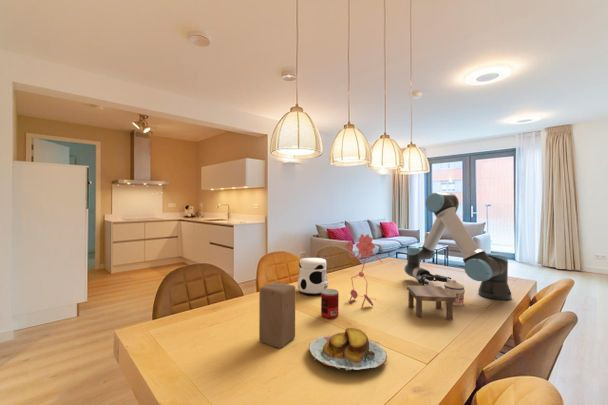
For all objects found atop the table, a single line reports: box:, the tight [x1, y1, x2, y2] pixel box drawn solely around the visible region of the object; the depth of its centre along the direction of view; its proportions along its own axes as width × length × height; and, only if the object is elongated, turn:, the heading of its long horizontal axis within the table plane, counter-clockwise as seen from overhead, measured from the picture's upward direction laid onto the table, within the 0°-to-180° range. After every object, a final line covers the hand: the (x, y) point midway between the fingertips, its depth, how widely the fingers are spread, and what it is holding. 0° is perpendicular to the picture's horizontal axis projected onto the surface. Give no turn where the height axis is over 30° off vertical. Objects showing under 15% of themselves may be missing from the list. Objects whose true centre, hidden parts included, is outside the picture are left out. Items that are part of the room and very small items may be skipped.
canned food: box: [320, 288, 340, 320], centre depth 128 cm, size 8×8×11 cm
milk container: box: [297, 257, 329, 296], centre depth 162 cm, size 17×17×18 cm
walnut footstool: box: [406, 285, 455, 321], centre depth 133 cm, size 16×16×10 cm
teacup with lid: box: [444, 279, 465, 307], centre depth 146 cm, size 12×9×12 cm
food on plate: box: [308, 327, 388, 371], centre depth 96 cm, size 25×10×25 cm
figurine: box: [346, 233, 383, 308], centre depth 146 cm, size 15×26×35 cm, turn 31°
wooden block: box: [258, 281, 296, 349], centre depth 105 cm, size 10×10×20 cm
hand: (444, 284), depth 155 cm, fingers open, 13 cm apart
